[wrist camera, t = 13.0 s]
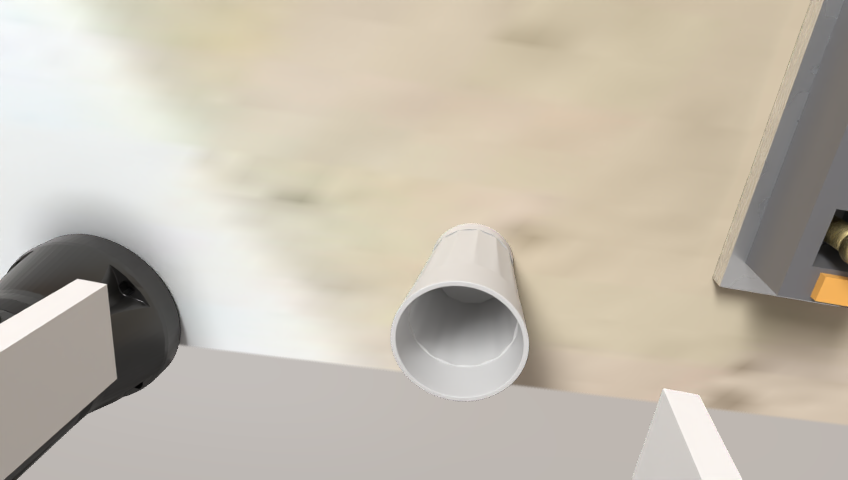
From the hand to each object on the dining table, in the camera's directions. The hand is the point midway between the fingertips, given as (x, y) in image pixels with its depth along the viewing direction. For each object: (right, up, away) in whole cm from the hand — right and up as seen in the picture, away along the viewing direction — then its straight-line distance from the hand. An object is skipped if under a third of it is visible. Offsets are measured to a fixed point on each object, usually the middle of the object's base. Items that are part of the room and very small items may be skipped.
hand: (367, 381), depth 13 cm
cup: (+5, +2, +30) cm, 30 cm away
